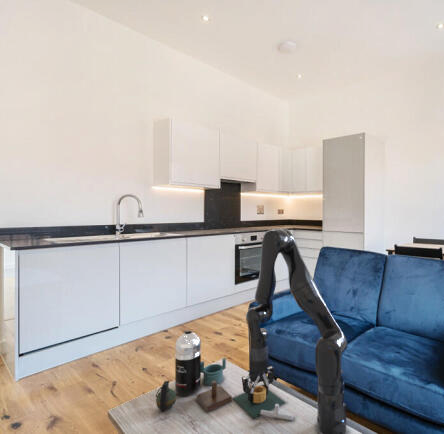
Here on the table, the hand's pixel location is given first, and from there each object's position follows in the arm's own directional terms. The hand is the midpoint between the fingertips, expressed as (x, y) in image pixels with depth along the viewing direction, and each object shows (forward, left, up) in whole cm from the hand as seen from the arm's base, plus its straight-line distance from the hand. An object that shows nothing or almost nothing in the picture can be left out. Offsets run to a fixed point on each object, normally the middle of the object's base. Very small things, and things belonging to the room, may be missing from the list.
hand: (258, 397), depth 121 cm
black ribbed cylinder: (+26, +18, -1) cm, 32 cm away
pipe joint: (-13, 0, -1) cm, 13 cm away
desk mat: (0, 0, -1) cm, 1 cm away
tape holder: (+12, +13, -1) cm, 18 cm away
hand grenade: (+19, +29, -1) cm, 35 cm away
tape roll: (0, 0, 0) cm, 0 cm away
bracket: (+26, +7, -1) cm, 27 cm away
